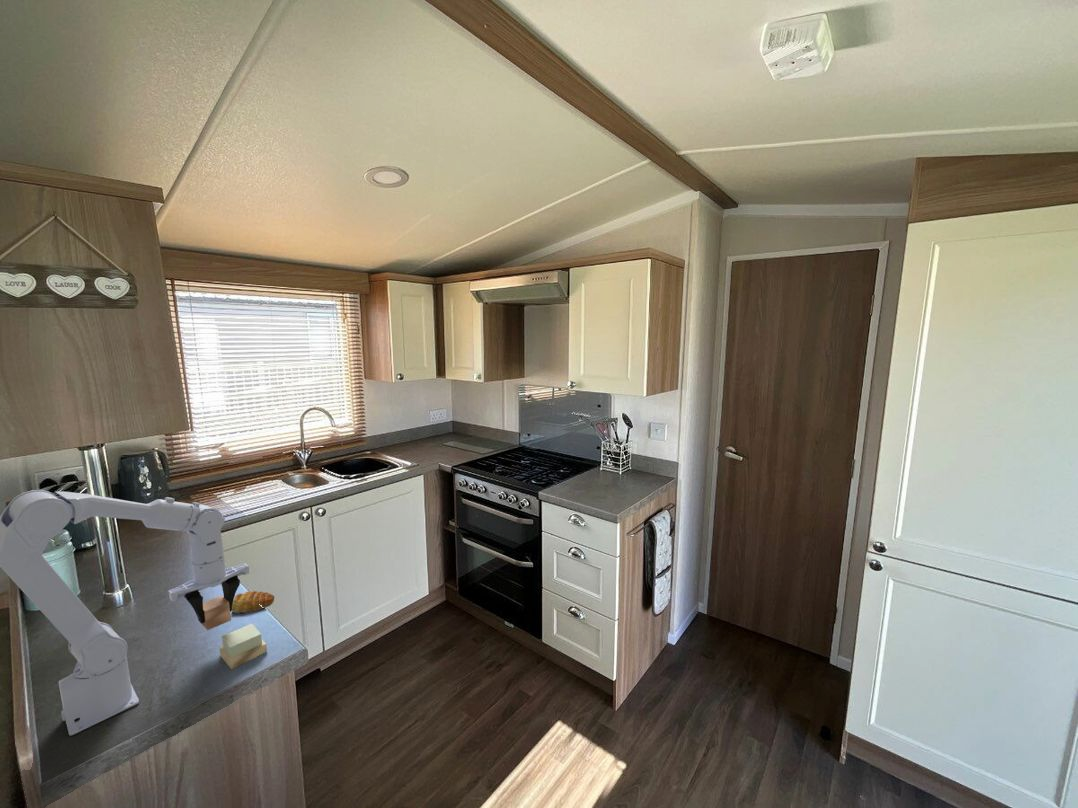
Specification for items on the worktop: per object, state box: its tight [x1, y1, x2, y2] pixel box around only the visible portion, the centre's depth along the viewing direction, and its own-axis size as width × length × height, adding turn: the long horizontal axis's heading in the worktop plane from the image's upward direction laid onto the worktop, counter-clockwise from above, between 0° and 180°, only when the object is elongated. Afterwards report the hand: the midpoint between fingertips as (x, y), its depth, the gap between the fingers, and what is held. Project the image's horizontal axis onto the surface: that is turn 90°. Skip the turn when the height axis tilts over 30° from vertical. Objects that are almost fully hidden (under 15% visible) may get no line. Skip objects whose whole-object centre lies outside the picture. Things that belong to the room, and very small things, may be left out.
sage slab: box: [221, 623, 263, 658], centre depth 100 cm, size 6×6×2 cm
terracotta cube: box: [201, 594, 232, 631], centre depth 101 cm, size 4×4×4 cm
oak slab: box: [219, 639, 268, 670], centre depth 101 cm, size 7×7×2 cm
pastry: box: [231, 590, 275, 614], centre depth 119 cm, size 9×7×4 cm
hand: (215, 615), depth 101 cm, fingers closed on terracotta cube, 4 cm apart
